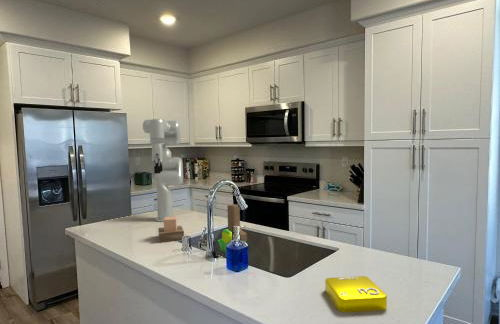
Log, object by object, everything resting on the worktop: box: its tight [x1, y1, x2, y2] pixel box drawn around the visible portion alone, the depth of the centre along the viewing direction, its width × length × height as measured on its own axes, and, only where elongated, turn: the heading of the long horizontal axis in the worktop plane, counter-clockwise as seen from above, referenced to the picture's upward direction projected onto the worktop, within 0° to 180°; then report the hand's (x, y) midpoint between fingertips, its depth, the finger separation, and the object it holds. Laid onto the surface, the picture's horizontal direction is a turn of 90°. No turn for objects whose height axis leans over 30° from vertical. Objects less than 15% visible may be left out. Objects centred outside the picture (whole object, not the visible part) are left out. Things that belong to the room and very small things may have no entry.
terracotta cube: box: [163, 216, 178, 232], centre depth 166 cm, size 6×6×6 cm
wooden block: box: [226, 203, 248, 243], centre depth 159 cm, size 9×4×18 cm, turn 50°
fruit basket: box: [217, 228, 246, 254], centre depth 143 cm, size 11×9×11 cm
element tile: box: [324, 275, 388, 313], centre depth 100 cm, size 15×15×5 cm
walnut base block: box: [158, 225, 185, 244], centre depth 166 cm, size 12×12×5 cm
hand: (158, 172), depth 177 cm, fingers open, 9 cm apart
